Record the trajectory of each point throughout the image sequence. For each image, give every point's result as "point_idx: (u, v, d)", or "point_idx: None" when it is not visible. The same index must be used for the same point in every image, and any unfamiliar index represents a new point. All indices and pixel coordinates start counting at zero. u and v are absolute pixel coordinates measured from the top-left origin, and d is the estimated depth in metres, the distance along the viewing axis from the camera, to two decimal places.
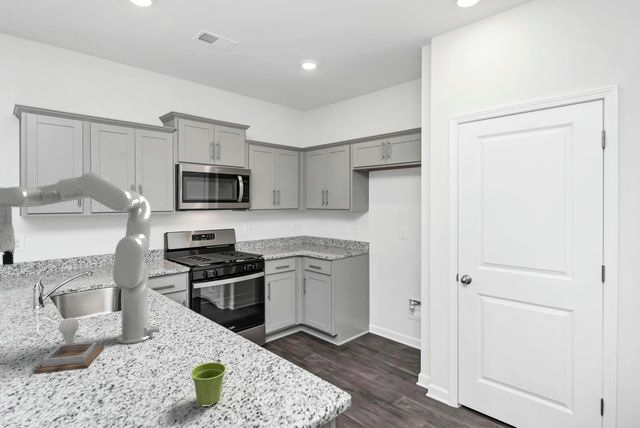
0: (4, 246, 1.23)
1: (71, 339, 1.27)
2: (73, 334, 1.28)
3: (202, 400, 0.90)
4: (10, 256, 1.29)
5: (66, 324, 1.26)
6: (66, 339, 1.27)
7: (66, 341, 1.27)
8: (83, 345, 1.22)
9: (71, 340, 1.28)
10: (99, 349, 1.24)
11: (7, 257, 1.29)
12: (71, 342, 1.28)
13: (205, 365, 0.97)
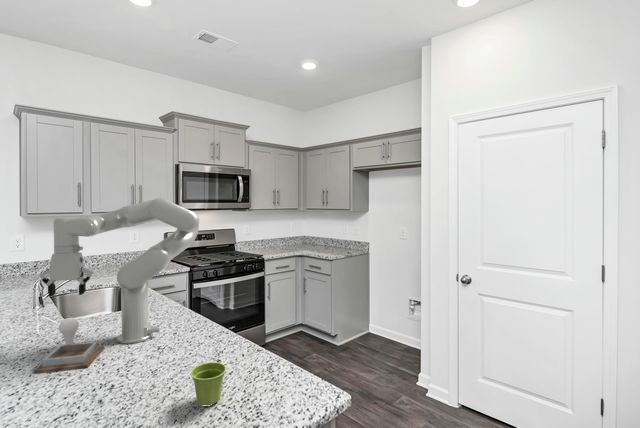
0: None
1: (71, 339, 1.27)
2: (73, 334, 1.28)
3: (202, 400, 0.90)
4: (54, 286, 1.27)
5: (66, 324, 1.26)
6: (66, 339, 1.27)
7: (66, 341, 1.27)
8: (83, 345, 1.22)
9: (71, 340, 1.28)
10: (99, 349, 1.24)
11: (53, 287, 1.26)
12: (71, 342, 1.28)
13: (205, 364, 0.97)
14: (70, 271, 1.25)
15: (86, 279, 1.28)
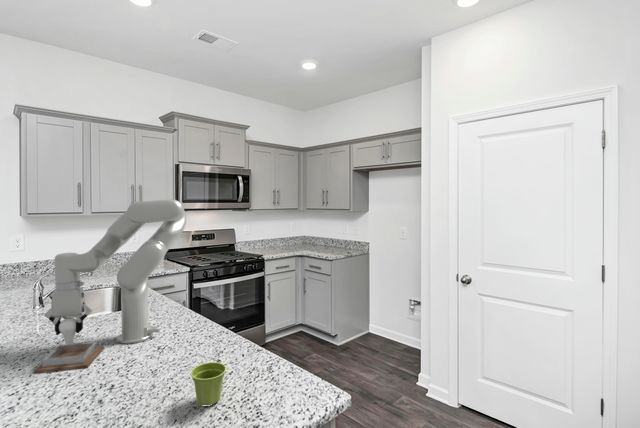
0: None
1: (71, 339, 1.27)
2: (73, 334, 1.28)
3: (202, 400, 0.90)
4: None
5: (66, 324, 1.25)
6: (66, 339, 1.27)
7: (66, 341, 1.27)
8: (83, 345, 1.22)
9: (71, 340, 1.28)
10: (99, 349, 1.24)
11: None
12: (71, 342, 1.28)
13: (205, 365, 0.97)
14: (72, 307, 1.26)
15: (83, 317, 1.28)
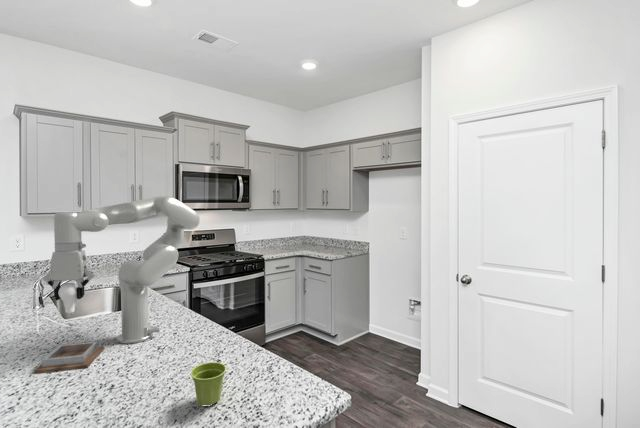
0: None
1: (71, 306, 1.17)
2: (74, 300, 1.17)
3: (202, 400, 0.90)
4: None
5: (66, 289, 1.15)
6: (66, 305, 1.16)
7: (66, 308, 1.16)
8: (83, 345, 1.22)
9: (71, 307, 1.17)
10: (99, 349, 1.24)
11: None
12: (71, 309, 1.17)
13: (205, 365, 0.97)
14: (72, 270, 1.15)
15: (85, 282, 1.18)
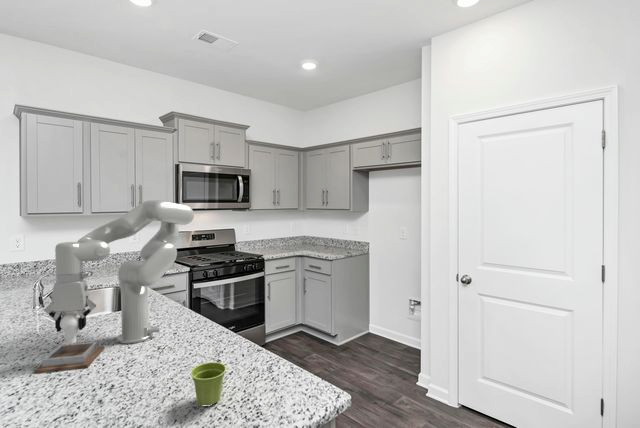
0: None
1: (73, 336, 1.16)
2: (75, 331, 1.17)
3: (202, 400, 0.90)
4: None
5: (68, 320, 1.14)
6: (68, 336, 1.15)
7: (68, 339, 1.16)
8: (83, 345, 1.22)
9: (73, 338, 1.16)
10: (99, 349, 1.24)
11: None
12: (73, 340, 1.16)
13: (205, 365, 0.97)
14: (74, 301, 1.15)
15: (86, 312, 1.17)
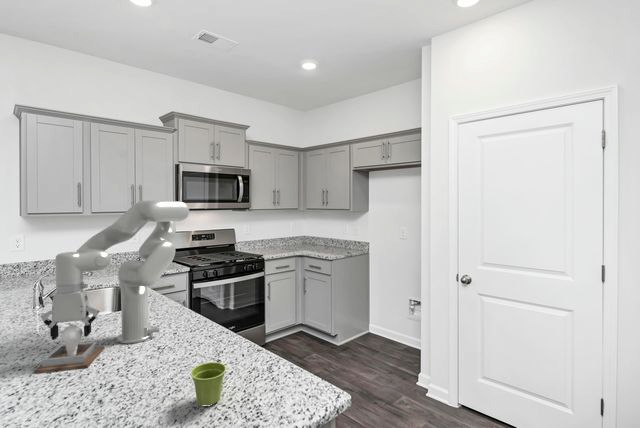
0: None
1: (74, 349, 1.17)
2: (76, 343, 1.17)
3: (202, 400, 0.90)
4: (57, 327, 1.17)
5: (69, 333, 1.15)
6: (68, 349, 1.16)
7: (68, 351, 1.16)
8: (83, 345, 1.22)
9: (74, 350, 1.17)
10: (99, 349, 1.24)
11: (56, 329, 1.16)
12: (74, 352, 1.17)
13: (205, 365, 0.97)
14: (74, 312, 1.15)
15: (92, 319, 1.18)
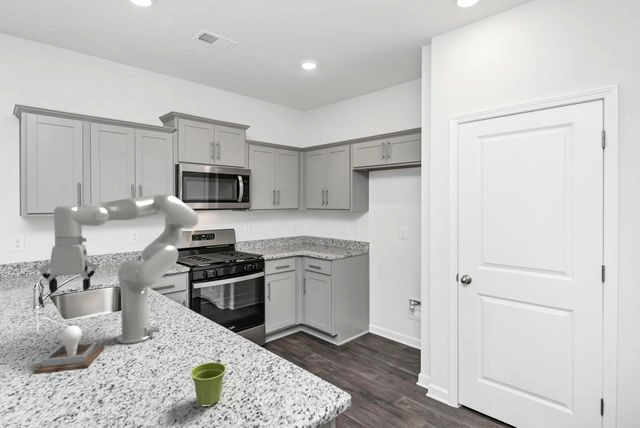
0: None
1: (74, 349, 1.17)
2: (76, 343, 1.17)
3: (202, 400, 0.90)
4: (56, 281, 1.17)
5: (68, 333, 1.15)
6: (68, 349, 1.16)
7: (68, 351, 1.16)
8: (83, 345, 1.22)
9: (74, 350, 1.17)
10: (99, 349, 1.24)
11: (55, 283, 1.16)
12: (74, 352, 1.17)
13: (205, 364, 0.97)
14: (73, 265, 1.15)
15: (91, 273, 1.18)
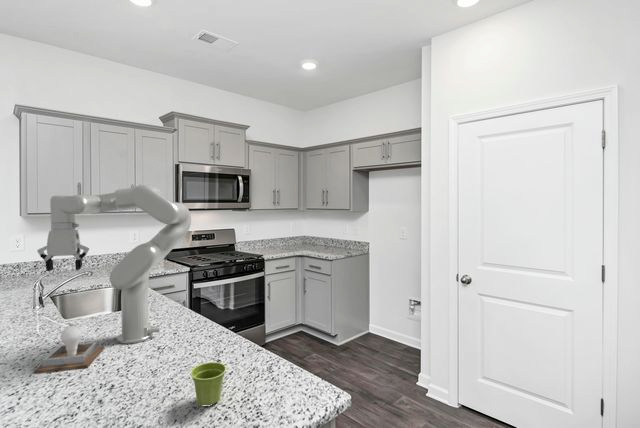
0: None
1: (74, 349, 1.16)
2: (76, 344, 1.17)
3: (202, 400, 0.90)
4: (52, 262, 1.33)
5: (69, 333, 1.15)
6: (68, 349, 1.16)
7: (68, 351, 1.16)
8: (83, 345, 1.22)
9: (74, 350, 1.17)
10: (99, 349, 1.24)
11: (51, 263, 1.32)
12: (74, 352, 1.17)
13: (205, 364, 0.97)
14: (67, 247, 1.31)
15: (82, 255, 1.34)
